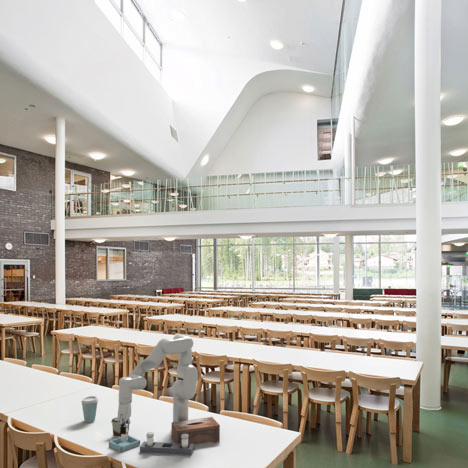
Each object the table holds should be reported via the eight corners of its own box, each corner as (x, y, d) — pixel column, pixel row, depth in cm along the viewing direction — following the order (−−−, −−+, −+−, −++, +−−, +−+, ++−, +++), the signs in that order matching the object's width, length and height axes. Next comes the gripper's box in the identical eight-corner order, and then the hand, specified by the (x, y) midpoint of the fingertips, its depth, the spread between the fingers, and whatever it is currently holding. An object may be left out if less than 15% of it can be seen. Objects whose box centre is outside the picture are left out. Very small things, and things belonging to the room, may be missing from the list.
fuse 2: (185, 449, 238) (185, 433, 239) (189, 451, 235) (190, 435, 236) (179, 451, 235) (179, 435, 236) (184, 454, 232) (184, 437, 233)
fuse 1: (150, 447, 240) (150, 431, 241) (154, 449, 237) (155, 433, 238) (144, 450, 237) (145, 433, 238) (149, 452, 235) (149, 435, 235)
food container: (134, 434, 262) (134, 417, 263) (128, 438, 256) (129, 421, 257) (116, 432, 266) (116, 415, 266) (110, 435, 260) (111, 419, 260)
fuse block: (139, 454, 234) (139, 446, 235) (143, 448, 241) (144, 441, 242) (191, 457, 231) (191, 449, 231) (194, 451, 238) (194, 443, 238)
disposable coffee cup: (92, 424, 278) (92, 401, 279) (77, 423, 280) (78, 400, 281) (100, 418, 289) (101, 396, 290) (86, 417, 291) (86, 395, 292)
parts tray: (127, 440, 252) (127, 434, 253) (140, 446, 244) (140, 440, 244) (108, 447, 243) (108, 441, 243) (120, 453, 235) (121, 447, 235)
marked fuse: (125, 438, 247) (125, 422, 247) (129, 440, 244) (129, 424, 245) (119, 440, 244) (119, 424, 244) (123, 442, 241) (123, 426, 242)
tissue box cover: (212, 433, 264) (212, 416, 265) (219, 442, 251) (219, 424, 252) (171, 439, 255) (171, 422, 256) (177, 449, 242) (177, 431, 242)
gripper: (124, 395, 254) (123, 426, 253) (113, 403, 238) (112, 437, 236) (136, 395, 253) (135, 427, 252) (126, 404, 237) (125, 438, 235)
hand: (124, 431), depth 244 cm, fingers closed on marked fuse, 4 cm apart
